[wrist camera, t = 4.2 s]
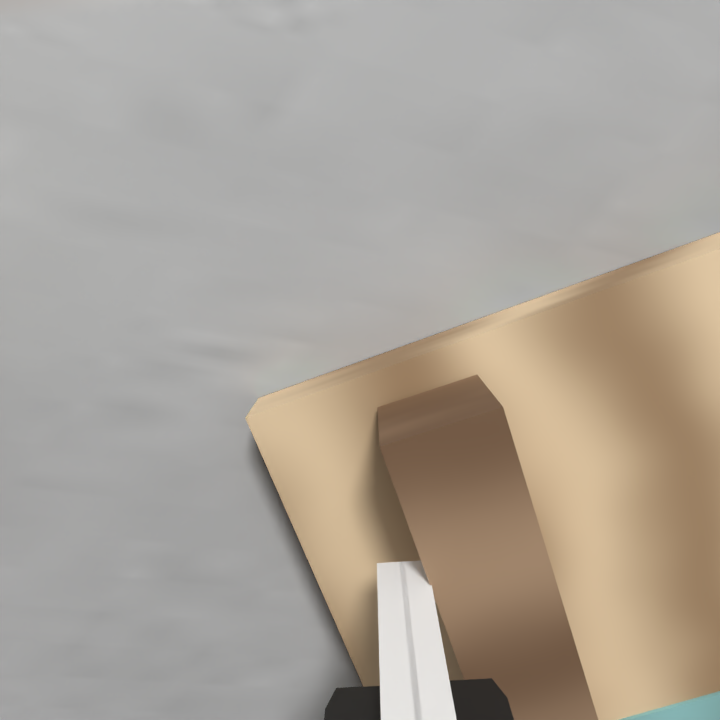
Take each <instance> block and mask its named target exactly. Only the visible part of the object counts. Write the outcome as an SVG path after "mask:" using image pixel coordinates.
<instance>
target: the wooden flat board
mask: <svg viewBox="0 0 720 720" xmlns="http://www.w3.org/2000/svg"><path fill="white" fill-rule="evenodd" d="M474 375H478V376H479V377H480V379H481V380H482V381H483V382H484V384H485V385H486V386H487V387H488V389H489V390H490V391H491V392H492V394H493V395H494V396H495V397H496V399H497V400H498V401H499V402H500V404H501V405H502V406H503V408H504V411H505V415H506V418H507V421H508V425H509V428H510V431H511V434H512V438H513V441H514V444H515V448H516V451H517V454H518V457H519V461H520V464H521V467H522V471H523V474H524V477H525V480H526V484H527V487H528V490H529V494H530V497H531V500H532V503H533V507H534V510H535V513H536V517H537V520H538V523H539V526H540V530H541V533H542V536H543V540H544V543H545V546H546V549H547V553H548V556H549V559H550V563H551V566H552V569H553V572H554V576H555V579H556V582H557V586H558V589H559V592H560V595H561V599H562V602H563V605H564V609H565V612H566V615H567V618H568V622H569V625H570V628H571V632H572V635H573V638H574V641H575V645H576V648H577V651H578V655H579V658H580V661H581V664H582V668H583V671H584V674H585V678H586V681H587V684H588V687H589V691H590V694H591V697H592V701H593V704H594V707H595V710H596V714H597V717H598V720H720V232H719V233H717V234H714V235H711V236H708V237H706V238H703V239H700V240H697V241H694V242H692V243H689V244H686V245H683V246H680V247H678V248H675V249H672V250H669V251H667V252H664V253H661V254H658V255H655V256H653V257H650V258H647V259H644V260H642V261H639V262H636V263H633V264H630V265H628V266H625V267H622V268H619V269H616V270H614V271H611V272H608V273H605V274H603V275H600V276H597V277H594V278H591V279H589V280H586V281H583V282H580V283H577V284H575V285H572V286H569V287H566V288H564V289H561V290H558V291H555V292H552V293H550V294H547V295H544V296H541V297H539V298H536V299H533V300H530V301H527V302H525V303H522V304H519V305H516V306H513V307H511V308H508V309H505V310H502V311H500V312H497V313H494V314H491V315H488V316H486V317H483V318H480V319H477V320H474V321H472V322H469V323H466V324H463V325H461V326H458V327H455V328H452V329H449V330H447V331H444V332H441V333H438V334H435V335H433V336H430V337H427V338H424V339H422V340H419V341H416V342H413V343H410V344H408V345H405V346H402V347H399V348H397V349H394V350H391V351H388V352H385V353H383V354H380V355H377V356H374V357H371V358H369V359H366V360H363V361H360V362H358V363H355V364H352V365H349V366H346V367H344V368H341V369H338V370H335V371H332V372H330V373H327V374H324V375H321V376H319V377H316V378H313V379H310V380H307V381H305V382H302V383H299V384H296V385H294V386H291V387H288V388H285V389H282V390H280V391H277V392H274V393H271V394H268V395H266V396H263V397H260V398H258V400H257V401H256V403H255V404H254V406H253V407H252V409H251V410H250V412H249V413H248V415H247V416H246V421H247V423H248V425H249V427H250V430H251V432H252V434H253V437H254V439H255V441H256V443H257V446H258V448H259V450H260V452H261V455H262V457H263V459H264V462H265V464H266V466H267V468H268V471H269V473H270V475H271V477H272V480H273V482H274V484H275V487H276V489H277V491H278V493H279V496H280V498H281V500H282V502H283V505H284V507H285V509H286V512H287V514H288V516H289V518H290V521H291V523H292V525H293V527H294V530H295V532H296V534H297V537H298V539H299V541H300V543H301V546H302V548H303V550H304V552H305V555H306V557H307V559H308V562H309V564H310V566H311V568H312V571H313V573H314V575H315V578H316V580H317V582H318V584H319V587H320V589H321V591H322V593H323V596H324V598H325V600H326V603H327V605H328V607H329V609H330V612H331V614H332V616H333V618H334V621H335V623H336V625H337V628H338V630H339V632H340V634H341V637H342V639H343V641H344V643H345V646H346V648H347V650H348V653H349V655H350V657H351V659H352V662H353V664H354V666H355V668H356V671H357V673H358V675H359V678H360V680H361V682H362V684H363V687H368V686H380V668H379V629H378V590H377V563H387V562H403V561H421V559H420V556H419V554H418V551H417V548H416V545H415V543H414V540H413V537H412V534H411V532H410V529H409V526H408V523H407V521H406V518H405V515H404V512H403V510H402V507H401V504H400V501H399V499H398V496H397V493H396V490H395V488H394V485H393V482H392V479H391V477H390V474H389V471H388V468H387V466H386V463H385V460H384V457H383V455H382V452H381V449H380V444H379V427H378V409H377V407H379V406H383V405H386V404H389V403H392V402H395V401H398V400H401V399H404V398H407V397H410V396H413V395H416V394H419V393H422V392H425V391H428V390H431V389H434V388H437V387H440V386H443V385H446V384H449V383H453V382H456V381H459V380H462V379H465V378H468V377H471V376H474ZM434 600H435V598H434ZM435 605H436V610H437V616H438V621H439V627H440V632H441V638H442V643H443V648H444V654H445V659H446V665H447V670H448V675H449V681H451V680H464V678H463V675H462V672H461V669H460V667H459V664H458V661H457V658H456V656H455V653H454V650H453V647H452V645H451V642H450V639H449V636H448V634H447V631H446V628H445V625H444V622H443V620H442V617H441V614H440V611H439V609H438V606H437V603H436V600H435Z"/></svg>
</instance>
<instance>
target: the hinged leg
mask: <svg viewBox="0 0 720 720" xmlns="http://www.w3.org/2000/svg"><path fill="white" fill-rule="evenodd" d="M377 409H378V427H379V444H380V449H381V452H382V455H383V457H384V460H385V463H386V466H387V468H388V471H389V474H390V477H391V479H392V482H393V485H394V488H395V490H396V493H397V496H398V499H399V501H400V504H401V507H402V510H403V512H404V515H405V518H406V521H407V523H408V526H409V529H410V532H411V534H412V537H413V540H414V543H415V545H416V548H417V551H418V554H419V556H420V559H421V562H422V565H423V567H424V570H425V573H426V576H427V578H428V581H429V584H430V585H432V589H433V594H434V598H435V600H436V603H437V606H438V609H439V611H440V614H441V617H442V620H443V622H444V625H445V628H446V631H447V634H448V636H449V639H450V642H451V645H452V647H453V650H454V653H455V656H456V658H457V661H458V664H459V667H460V669H461V672H462V675H463V678H464V680H469V679H487V678H492V679H493V680H494V682H495V683H496V684H497V685H498V687H499V688H500V689H501V690H502V692H503V693H504V694H505V695H506V697H507V698H508V701H509V705H510V708H511V711H512V715H513V718H514V720H598V717H597V714H596V710H595V707H594V704H593V701H592V697H591V694H590V691H589V687H588V684H587V681H586V678H585V674H584V671H583V668H582V664H581V661H580V658H579V655H578V651H577V648H576V645H575V641H574V638H573V635H572V632H571V628H570V625H569V622H568V618H567V615H566V612H565V609H564V605H563V602H562V599H561V595H560V592H559V589H558V586H557V582H556V579H555V576H554V572H553V569H552V566H551V563H550V559H549V556H548V553H547V549H546V546H545V543H544V540H543V536H542V533H541V530H540V526H539V523H538V520H537V517H536V513H535V510H534V507H533V503H532V500H531V497H530V494H529V490H528V487H527V484H526V480H525V477H524V474H523V471H522V467H521V464H520V461H519V457H518V454H517V451H516V448H515V444H514V441H513V438H512V434H511V431H510V428H509V425H508V421H507V418H506V415H505V411H504V408H503V406H502V405H501V404H500V402H499V401H498V400H497V399H496V397H495V396H494V395H493V394H492V392H491V391H490V390H489V389H488V387H487V386H486V385H485V384H484V382H483V381H482V380H481V379H480V377H479V376H478V375H474V376H471V377H468V378H465V379H462V380H459V381H456V382H453V383H449V384H446V385H443V386H440V387H437V388H434V389H431V390H428V391H425V392H422V393H419V394H416V395H413V396H410V397H407V398H404V399H401V400H398V401H395V402H392V403H389V404H386V405H383V406H379V407H377Z"/></svg>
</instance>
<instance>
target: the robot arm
mask: <svg viewBox="0 0 720 720" xmlns="http://www.w3.org/2000/svg"><path fill="white" fill-rule="evenodd" d="M377 590H378V629H379V668H380V686H368V687H349V688H336V690H335V692H334V694H333V696H332V698H331V699H330V701H329V703H328V705H327V707H326V709H325V718H324V720H514V718H513V715H512V711H511V708H510V705H509V701H508V698H507V697H506V695H505V694H504V693H503V692H502V690H501V689H500V688H499V687H498V685H497V684H496V683H495V682H494V680H493V679H492V678H487V679H469V680H451V681H449V675H448V670H447V665H446V659H445V654H444V648H443V643H442V638H441V632H440V627H439V621H438V616H437V610H436V605H435V600H434V594H433V589H432V585H430V584H429V581H428V578H427V576H426V573H425V570H424V567H423V565H422V562H421V561H403V562H387V563H377Z"/></svg>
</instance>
